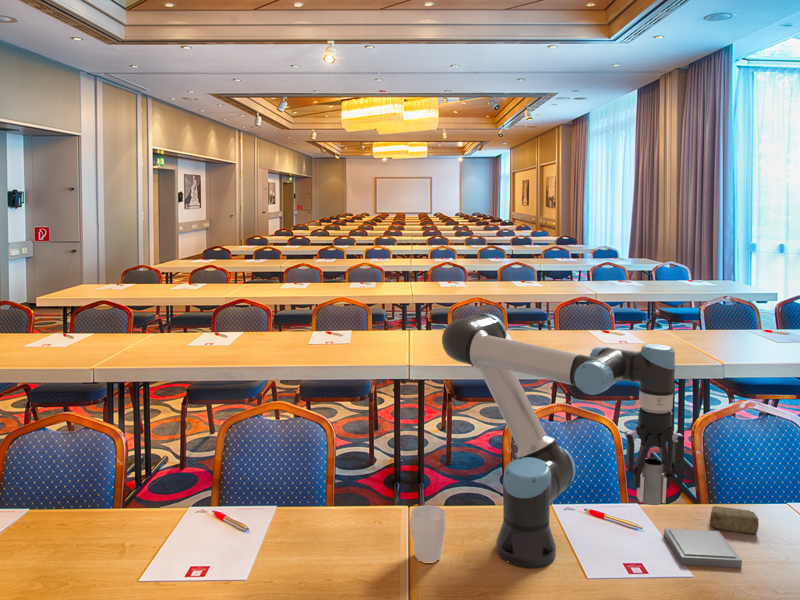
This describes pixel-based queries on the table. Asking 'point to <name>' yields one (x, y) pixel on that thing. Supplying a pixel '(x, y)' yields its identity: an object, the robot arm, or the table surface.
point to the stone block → (734, 520)
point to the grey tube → (652, 481)
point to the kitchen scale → (702, 548)
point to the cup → (428, 532)
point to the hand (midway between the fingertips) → (650, 499)
